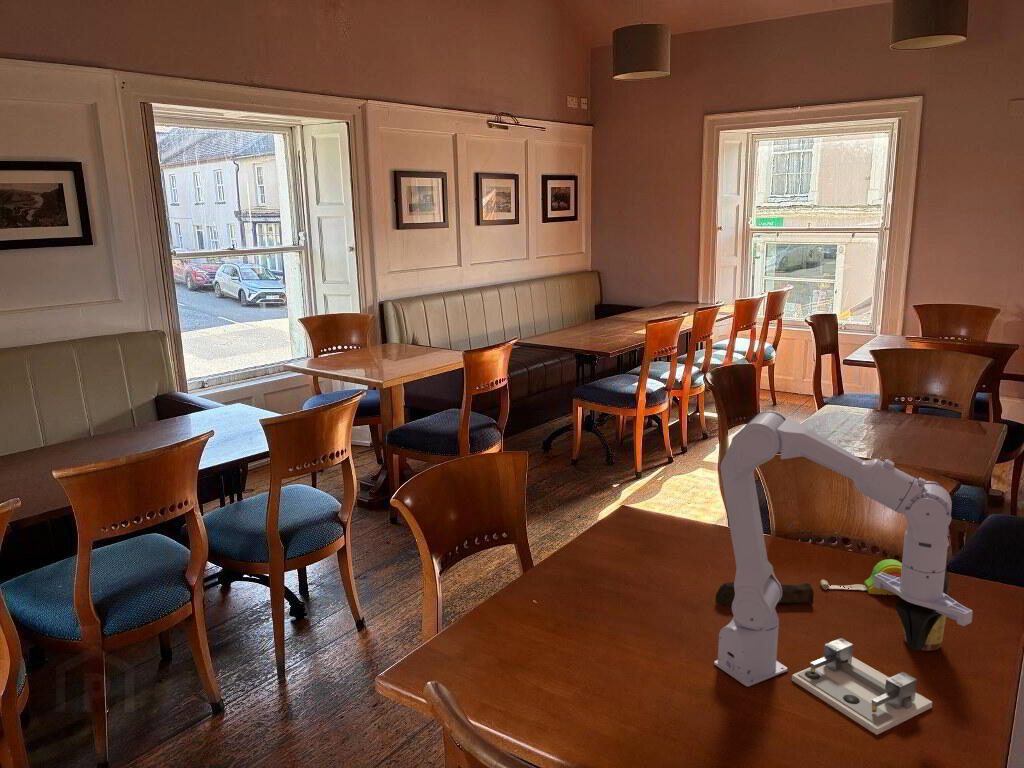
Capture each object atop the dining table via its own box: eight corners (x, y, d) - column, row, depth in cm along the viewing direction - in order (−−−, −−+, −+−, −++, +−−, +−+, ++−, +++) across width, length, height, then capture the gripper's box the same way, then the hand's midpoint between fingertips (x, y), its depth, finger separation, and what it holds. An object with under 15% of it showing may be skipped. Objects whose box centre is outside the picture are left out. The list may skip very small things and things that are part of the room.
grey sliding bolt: (879, 717, 117) (881, 696, 117) (865, 709, 119) (867, 687, 119) (914, 700, 121) (916, 679, 120) (900, 692, 123) (902, 671, 122)
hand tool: (807, 598, 157) (808, 576, 156) (814, 607, 153) (815, 585, 152) (712, 599, 157) (713, 577, 156) (717, 608, 153) (718, 586, 152)
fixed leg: (816, 679, 127) (818, 658, 126) (805, 671, 129) (806, 651, 128) (851, 664, 131) (853, 644, 130) (839, 657, 133) (841, 637, 132)
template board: (876, 735, 115) (878, 721, 115) (791, 680, 129) (792, 668, 129) (931, 707, 122) (933, 695, 121) (844, 657, 135) (845, 646, 135)
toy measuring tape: (927, 601, 154) (930, 570, 153) (824, 595, 157) (826, 565, 156) (916, 585, 161) (919, 556, 159) (817, 580, 164) (819, 551, 162)
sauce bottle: (894, 638, 141) (904, 536, 137) (920, 631, 143) (931, 530, 139) (924, 657, 135) (936, 550, 131) (951, 649, 137) (963, 544, 133)
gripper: (988, 576, 112) (978, 662, 115) (896, 541, 124) (889, 619, 127) (959, 589, 108) (950, 676, 111) (867, 552, 121) (861, 631, 124)
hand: (915, 647), depth 119 cm, fingers closed
